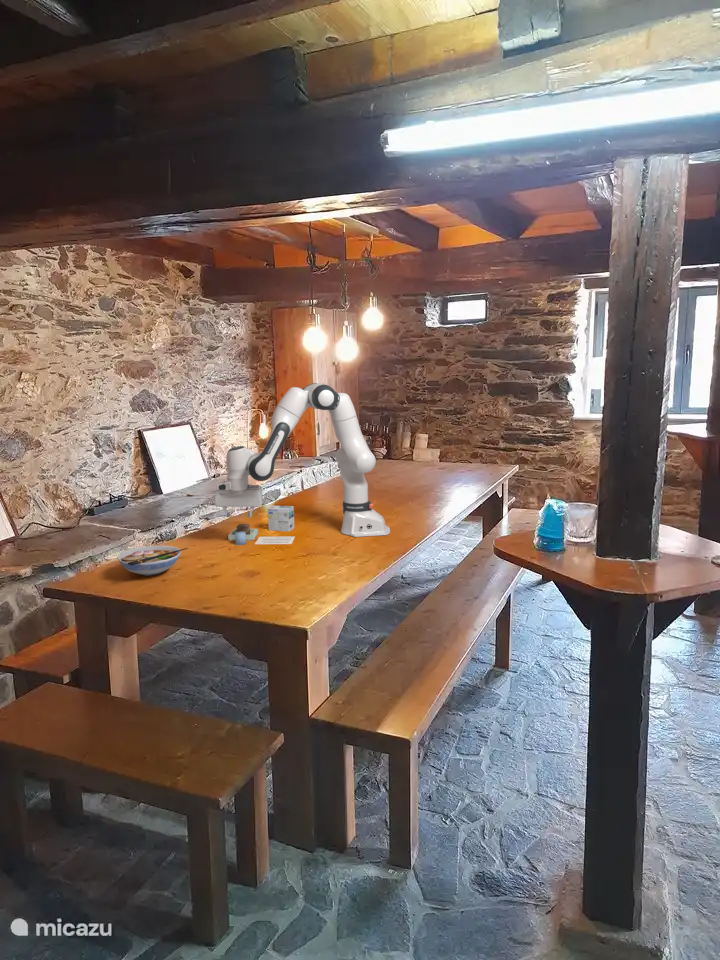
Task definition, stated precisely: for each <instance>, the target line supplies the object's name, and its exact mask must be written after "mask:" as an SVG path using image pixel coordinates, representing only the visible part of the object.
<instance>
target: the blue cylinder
mask: <svg viewBox="0 0 720 960" xmlns="http://www.w3.org/2000/svg"><path fill="white" fill-rule="evenodd" d="M235 539H236V541H235V545H236V546H244V545H246V544H247V540H246V532H242V531H241V532H236V533H235Z"/></svg>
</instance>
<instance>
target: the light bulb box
mask: <svg viewBox="0 0 720 960" xmlns="http://www.w3.org/2000/svg"><path fill="white" fill-rule="evenodd" d="M294 510H295V508H294V505H271V506H269V507H268V508H267V522H268V523H267V525H268V531H275V532H276V531H277V532H291V531H293V530H294V529H295V528H296V527H295V511H294Z"/></svg>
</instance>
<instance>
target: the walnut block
mask: <svg viewBox="0 0 720 960" xmlns="http://www.w3.org/2000/svg"><path fill="white" fill-rule="evenodd" d="M235 529H237V532H241V531H242V532H246V535H250V529H251V523H238V524H237V525H236V527H235Z"/></svg>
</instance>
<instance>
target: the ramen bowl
mask: <svg viewBox="0 0 720 960" xmlns="http://www.w3.org/2000/svg"><path fill="white" fill-rule="evenodd" d="M188 549H189V548H188V547H185V548H182V549H180V548H179V547H177V546H171V545H159V544H158V545H156V544H155V545H146V546H145V545H144V546H141V547H134V548H131V549H127V550H125V551H122V552H121V553H119V554H118V555H117V560H118V562H119V563H120V565H122V567H123V568H125V570H127V571H129V572H131V573H132V574H138V575H142V576H146V577H147V576H148V577H149V576H156V575H159V574H161V573H162V572H165V571H167V570H169V569H170V568H172V567H173V566H174V565H175V564H176V563H177V561H178V560H179V558H180V556H181V554H182V551H185V550H188Z"/></svg>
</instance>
